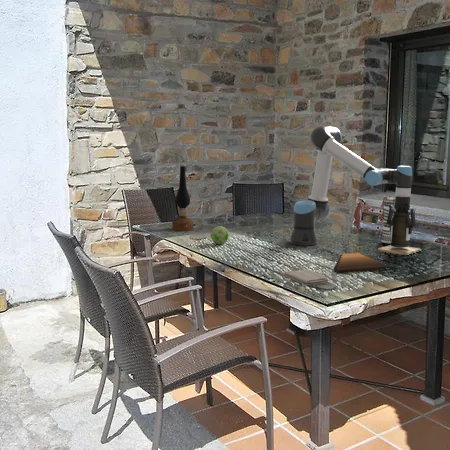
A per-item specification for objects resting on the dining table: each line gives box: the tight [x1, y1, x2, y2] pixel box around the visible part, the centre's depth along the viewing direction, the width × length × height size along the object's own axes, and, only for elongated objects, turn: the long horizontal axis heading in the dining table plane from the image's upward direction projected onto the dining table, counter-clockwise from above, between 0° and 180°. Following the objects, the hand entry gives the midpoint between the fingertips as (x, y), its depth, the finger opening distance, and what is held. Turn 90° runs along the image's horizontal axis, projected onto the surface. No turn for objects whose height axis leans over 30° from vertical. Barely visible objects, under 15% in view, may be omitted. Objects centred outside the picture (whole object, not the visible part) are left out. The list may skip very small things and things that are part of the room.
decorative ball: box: [210, 225, 230, 245], centre depth 313 cm, size 10×10×10 cm
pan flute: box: [333, 252, 387, 274], centre depth 269 cm, size 25×3×25 cm
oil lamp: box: [171, 165, 194, 232], centre depth 355 cm, size 14×15×40 cm
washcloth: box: [284, 268, 329, 287], centre depth 244 cm, size 12×18×3 cm, turn 28°
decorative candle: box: [380, 197, 396, 244], centre depth 323 cm, size 9×9×25 cm
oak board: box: [377, 244, 422, 256], centre depth 300 cm, size 16×16×2 cm
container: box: [390, 211, 410, 248], centre depth 298 cm, size 9×9×18 cm
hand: (400, 238), depth 299 cm, fingers closed on container, 8 cm apart
